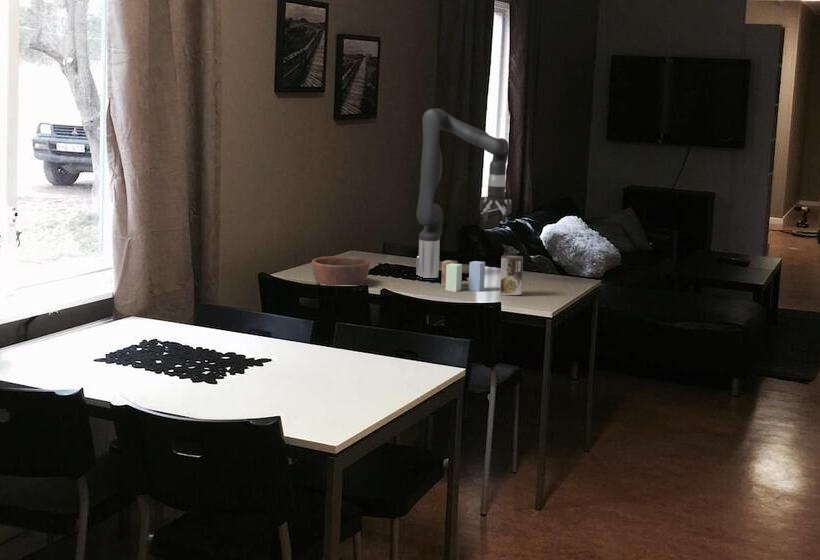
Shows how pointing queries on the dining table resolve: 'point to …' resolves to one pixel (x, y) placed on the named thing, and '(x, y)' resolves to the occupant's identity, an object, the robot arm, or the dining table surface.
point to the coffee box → (511, 274)
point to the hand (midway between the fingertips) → (494, 221)
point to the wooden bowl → (340, 270)
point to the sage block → (453, 277)
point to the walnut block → (444, 263)
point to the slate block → (476, 276)
